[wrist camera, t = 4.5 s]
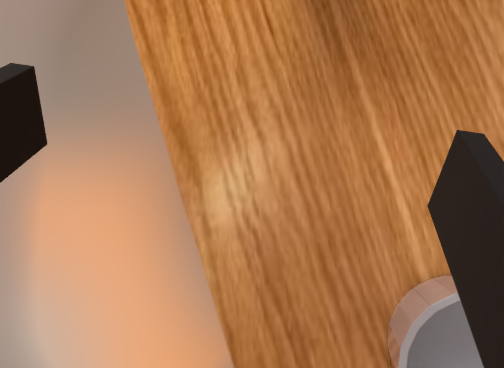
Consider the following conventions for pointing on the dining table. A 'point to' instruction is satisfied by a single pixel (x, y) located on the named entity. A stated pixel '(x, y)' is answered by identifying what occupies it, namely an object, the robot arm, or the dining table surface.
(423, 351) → the steel cup
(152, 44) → the dining table surface
